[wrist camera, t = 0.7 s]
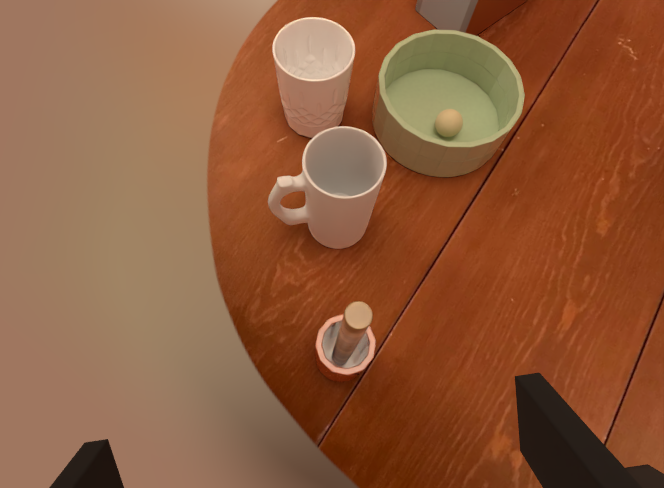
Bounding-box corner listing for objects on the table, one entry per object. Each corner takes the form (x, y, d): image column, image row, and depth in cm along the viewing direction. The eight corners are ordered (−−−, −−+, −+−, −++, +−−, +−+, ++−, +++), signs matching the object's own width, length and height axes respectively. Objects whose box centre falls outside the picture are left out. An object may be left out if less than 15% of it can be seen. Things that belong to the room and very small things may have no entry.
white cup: (342, 83, 53) (348, 14, 44) (352, 139, 51) (361, 77, 41) (276, 90, 53) (268, 19, 43) (283, 146, 50) (276, 84, 41)
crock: (309, 340, 42) (308, 324, 35) (354, 325, 43) (363, 306, 36) (324, 389, 41) (327, 382, 33) (371, 372, 42) (384, 363, 34)
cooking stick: (329, 350, 42) (340, 305, 25) (345, 344, 42) (367, 297, 25) (335, 367, 41) (349, 333, 24) (351, 361, 41) (377, 324, 25)
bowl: (354, 85, 53) (358, 46, 48) (468, 57, 56) (485, 17, 50) (400, 193, 48) (412, 163, 43) (524, 157, 51) (550, 125, 45)
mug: (360, 187, 48) (373, 119, 37) (377, 244, 46) (397, 189, 35) (268, 206, 47) (254, 141, 36) (281, 264, 45) (270, 214, 34)
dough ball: (428, 123, 51) (434, 106, 48) (451, 117, 52) (459, 100, 49) (438, 145, 50) (445, 129, 47) (462, 138, 51) (471, 122, 48)
